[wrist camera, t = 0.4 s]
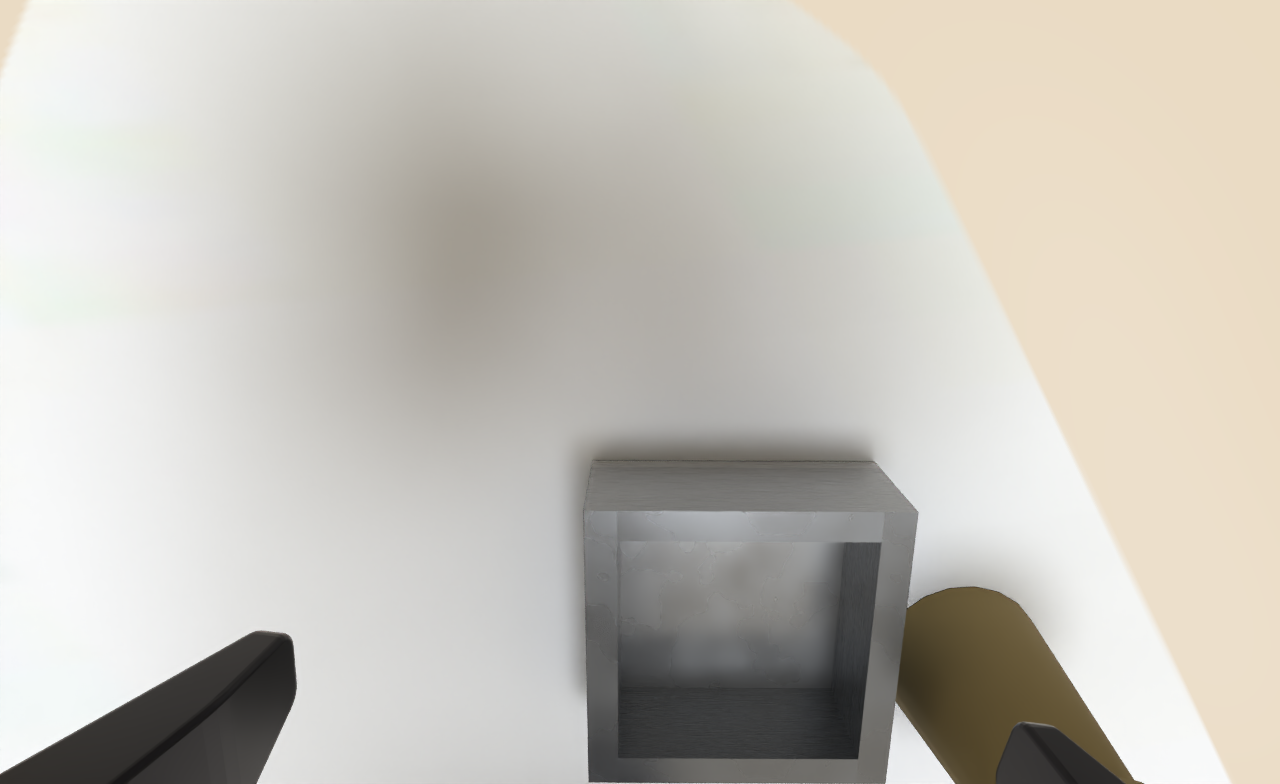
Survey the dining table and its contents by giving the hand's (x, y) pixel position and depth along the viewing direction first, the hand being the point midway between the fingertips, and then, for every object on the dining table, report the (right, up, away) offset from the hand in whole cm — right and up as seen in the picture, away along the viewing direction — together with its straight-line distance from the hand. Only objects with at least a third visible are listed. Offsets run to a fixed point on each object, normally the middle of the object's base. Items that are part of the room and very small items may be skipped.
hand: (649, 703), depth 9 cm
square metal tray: (+3, -3, +18) cm, 18 cm away
